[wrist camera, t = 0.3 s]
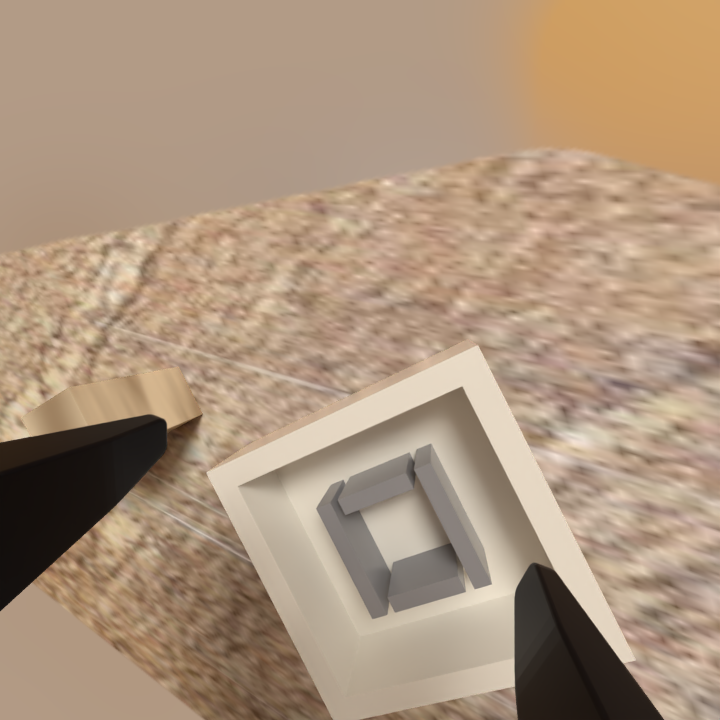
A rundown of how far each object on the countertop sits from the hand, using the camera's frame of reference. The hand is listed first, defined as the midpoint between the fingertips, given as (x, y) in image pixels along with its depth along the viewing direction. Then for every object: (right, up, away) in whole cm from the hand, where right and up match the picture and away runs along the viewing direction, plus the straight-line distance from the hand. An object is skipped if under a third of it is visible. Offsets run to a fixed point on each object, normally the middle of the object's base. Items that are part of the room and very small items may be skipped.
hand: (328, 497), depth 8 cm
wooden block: (-14, 0, +18) cm, 23 cm away
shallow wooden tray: (+4, -7, +15) cm, 17 cm away
